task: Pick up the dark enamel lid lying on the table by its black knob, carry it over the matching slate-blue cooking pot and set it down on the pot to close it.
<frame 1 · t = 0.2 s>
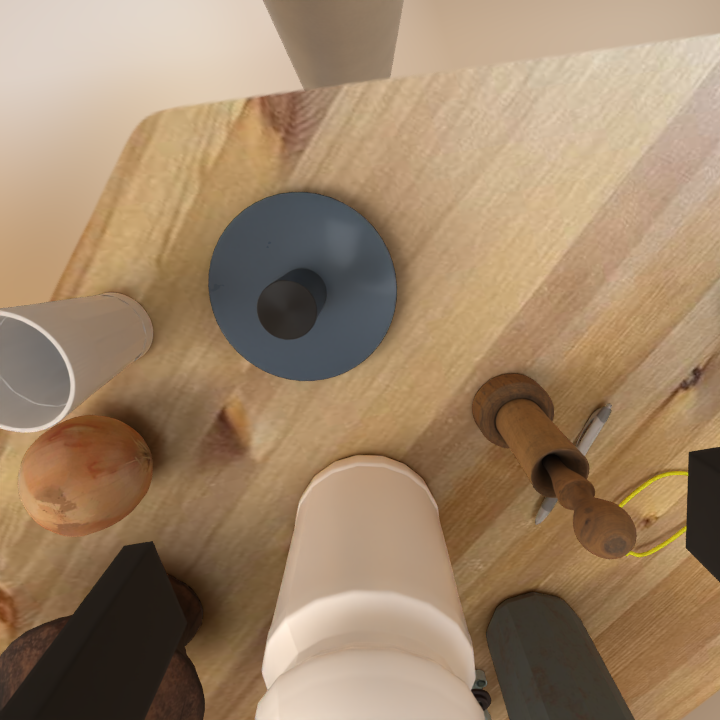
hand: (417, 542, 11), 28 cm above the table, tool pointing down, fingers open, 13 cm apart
onion: (120, 443, 41), on the table
pen: (565, 460, 41), on the table
bottle: (529, 622, 48), on the table
stool: (433, 702, 52), on the table
jug: (155, 613, 48), on the table
lid: (303, 291, 36), point 1 cm above the table
mortar and pestle: (507, 404, 40), on the table
bottle 2: (367, 510, 43), on the table
cup: (118, 327, 38), on the table
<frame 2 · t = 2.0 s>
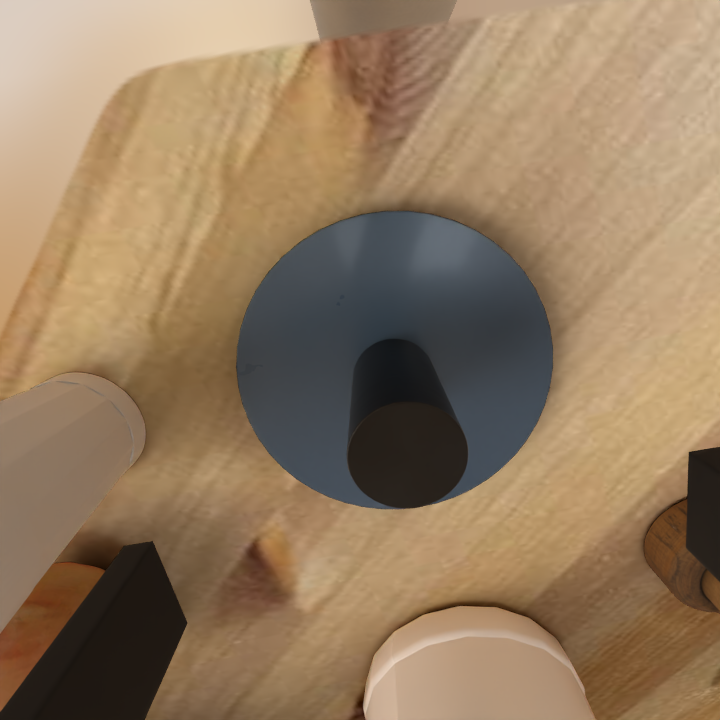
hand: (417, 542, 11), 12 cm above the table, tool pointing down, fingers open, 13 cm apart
onion: (99, 587, 27), on the table
lid: (392, 373, 22), point 1 cm above the table
mortar and pestle: (697, 536, 25), on the table
bottle 2: (465, 675, 29), on the table
cup: (90, 424, 24), on the table
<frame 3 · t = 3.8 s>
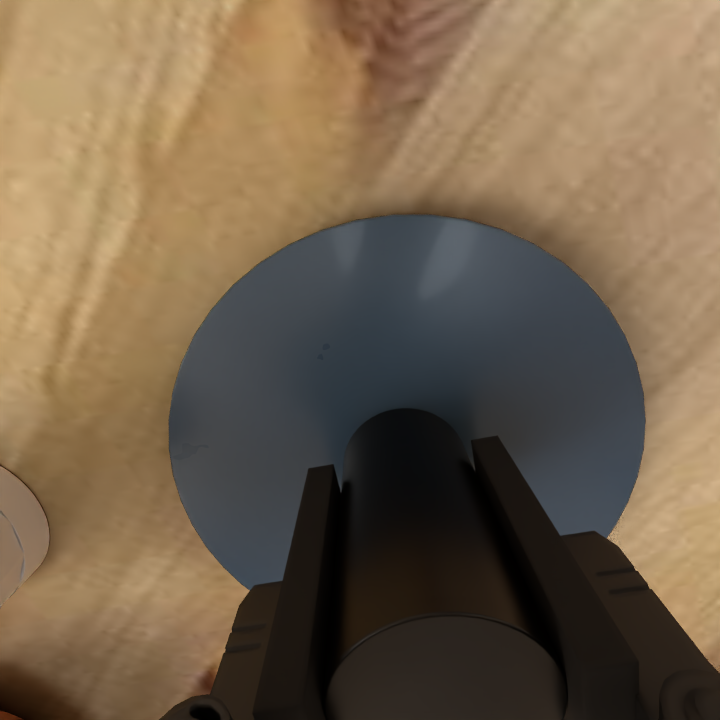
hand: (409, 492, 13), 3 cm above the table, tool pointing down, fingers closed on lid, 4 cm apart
lid: (402, 453, 15), point 1 cm above the table, touching gripper
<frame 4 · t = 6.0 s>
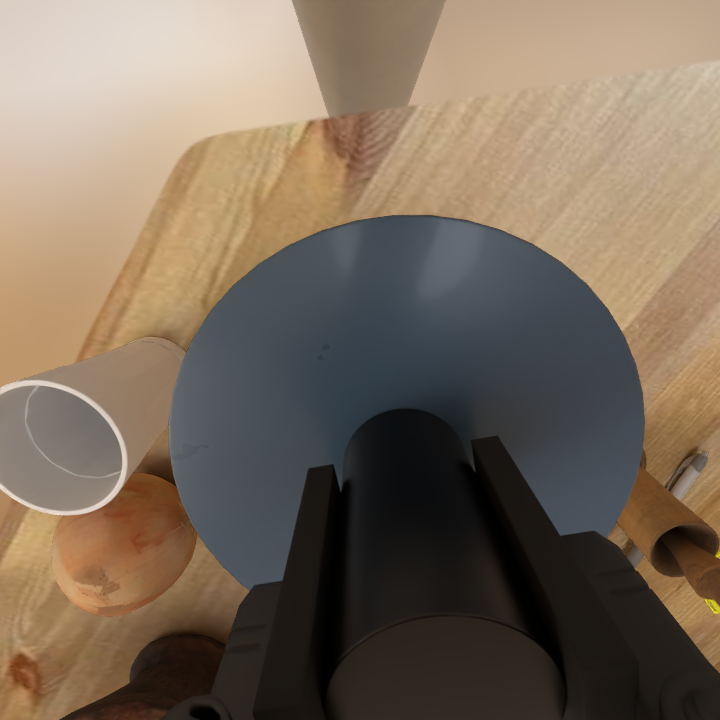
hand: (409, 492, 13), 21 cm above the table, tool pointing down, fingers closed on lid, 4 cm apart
onion: (158, 499, 37), on the table
pen: (651, 511, 37), on the table
jug: (192, 677, 44), on the table
lid: (402, 453, 15), point 19 cm above the table, touching gripper
mortar and pestle: (588, 452, 36), on the table
cup: (157, 374, 34), on the table
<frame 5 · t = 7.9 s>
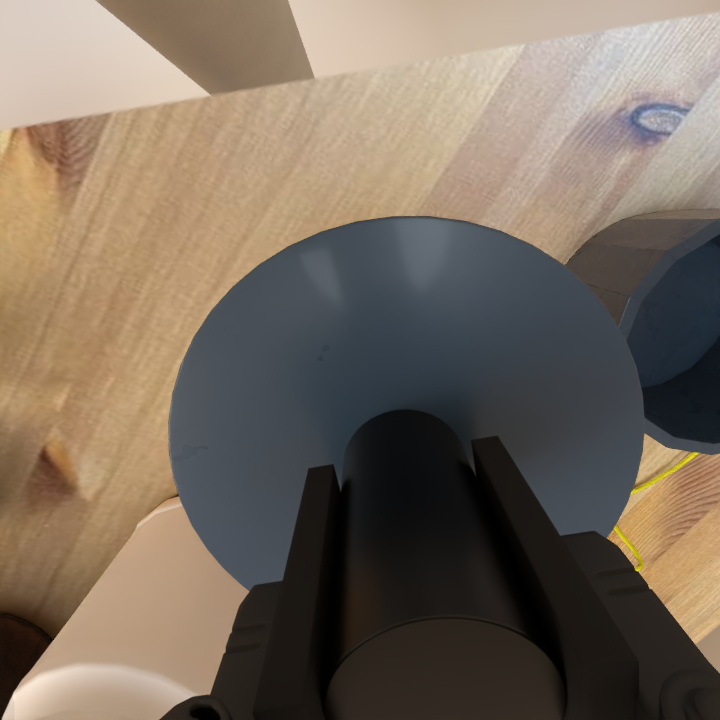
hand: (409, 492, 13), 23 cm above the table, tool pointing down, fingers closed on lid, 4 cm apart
jug: (10, 655, 46), on the table
glasses: (576, 500, 40), on the table
pot: (640, 309, 34), on the table
lid: (402, 454, 15), point 21 cm above the table, touching gripper
bottle 2: (211, 548, 42), on the table
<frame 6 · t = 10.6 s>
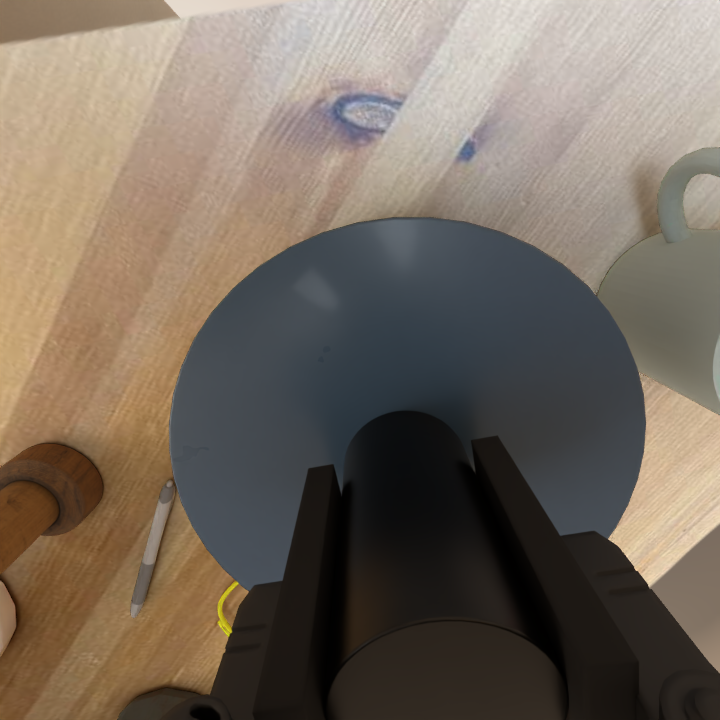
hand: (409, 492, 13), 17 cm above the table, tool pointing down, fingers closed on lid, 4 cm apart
mug: (656, 270, 27), on the table
pen: (157, 543, 34), on the table
glasses: (348, 553, 34), on the table
lid: (403, 455, 15), point 15 cm above the table, touching gripper
mortar and pestle: (60, 479, 32), on the table
when the fingers open (12 cm above the table, at t = 12.2 s): lid stays where it is, resting on pot.
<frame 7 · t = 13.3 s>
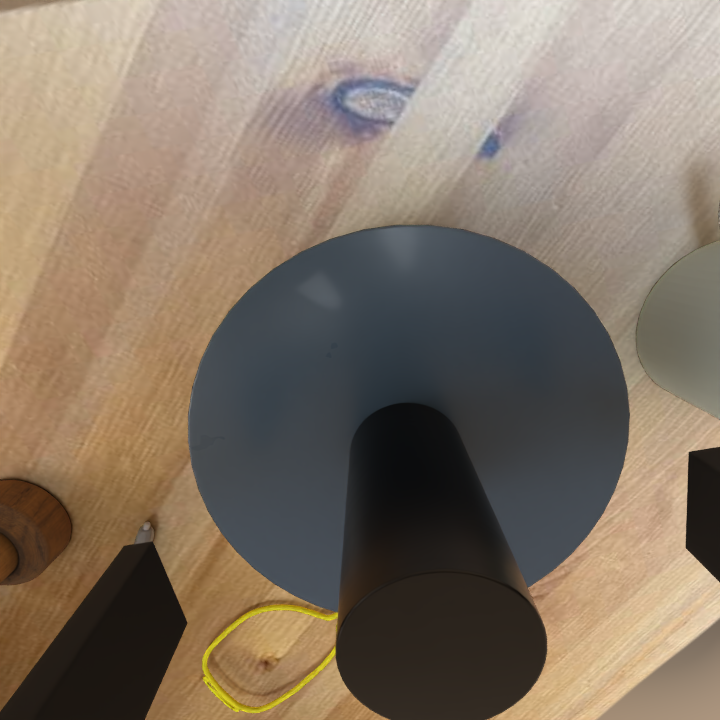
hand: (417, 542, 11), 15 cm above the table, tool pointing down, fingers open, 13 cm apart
mug: (710, 285, 23), on the table
pen: (135, 589, 30), on the table
glasses: (350, 602, 30), on the table
lid: (404, 445, 16), point 9 cm above the table, touching pot
mortar and pestle: (24, 518, 29), on the table
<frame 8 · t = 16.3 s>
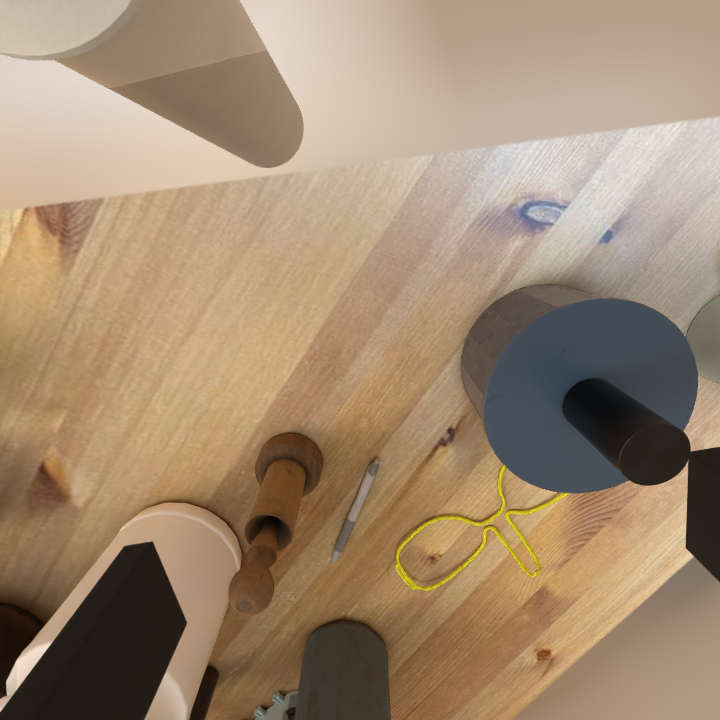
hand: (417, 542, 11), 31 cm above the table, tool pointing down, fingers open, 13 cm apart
pen: (354, 507, 47), on the table
bottle: (345, 647, 53), on the table
stool: (271, 718, 57), on the table
jug: (9, 640, 53), on the table
glasses: (493, 514, 47), on the table
pot: (536, 360, 41), on the table
lid: (585, 400, 32), point 9 cm above the table, touching pot
mortar and pestle: (291, 459, 45), on the table
bottle 2: (183, 549, 49), on the table
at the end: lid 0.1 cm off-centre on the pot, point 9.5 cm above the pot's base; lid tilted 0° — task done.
